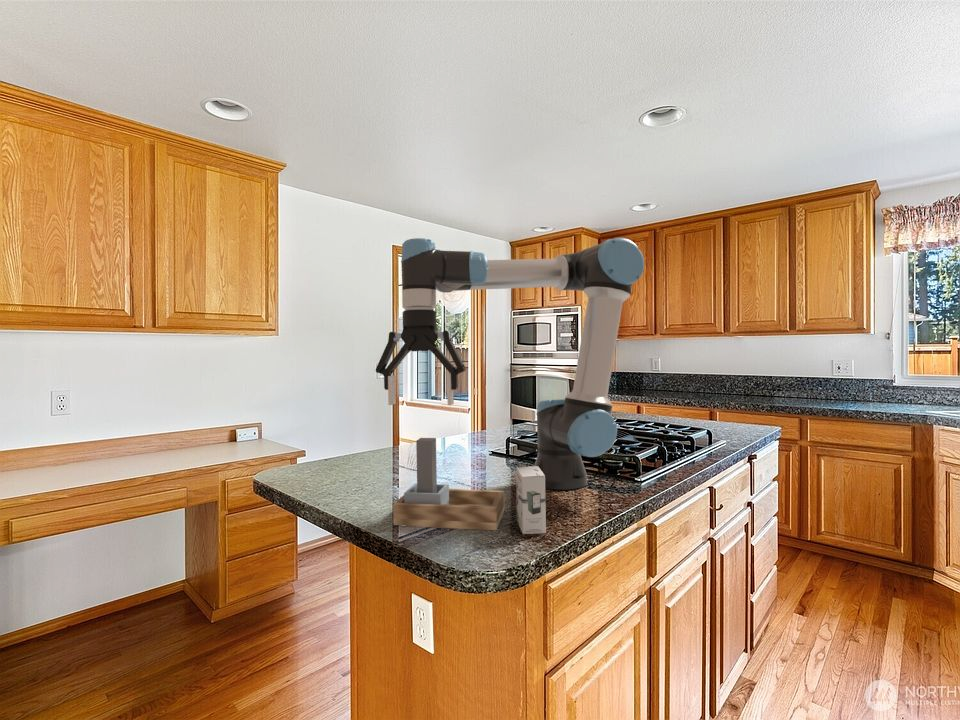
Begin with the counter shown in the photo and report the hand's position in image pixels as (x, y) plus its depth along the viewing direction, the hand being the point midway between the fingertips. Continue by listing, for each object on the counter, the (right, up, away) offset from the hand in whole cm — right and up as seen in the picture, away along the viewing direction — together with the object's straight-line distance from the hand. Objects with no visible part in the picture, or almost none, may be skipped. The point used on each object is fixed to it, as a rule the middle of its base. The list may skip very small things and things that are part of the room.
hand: (421, 404), depth 113 cm
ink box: (+24, -25, -8) cm, 35 cm away
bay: (+7, -25, -2) cm, 26 cm away
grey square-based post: (+2, -23, -1) cm, 23 cm away
